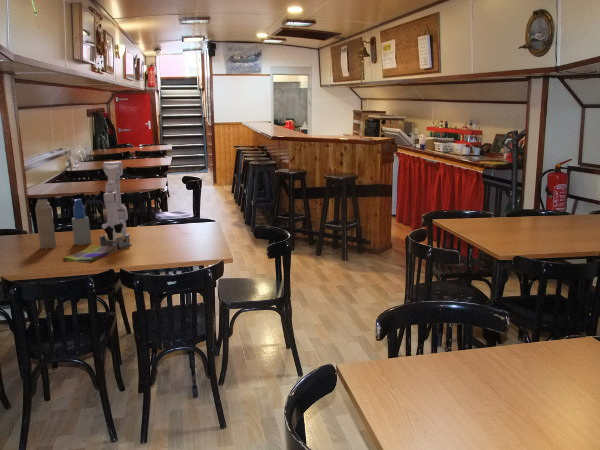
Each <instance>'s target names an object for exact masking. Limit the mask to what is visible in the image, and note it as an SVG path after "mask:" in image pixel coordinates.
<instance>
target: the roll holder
mask: <svg viewBox="0 0 600 450" xmlns="http://www.w3.org/2000/svg"><path fill="white" fill-rule="evenodd" d="M124 237H125V239H124V240H123V241H122V237H119V238H116V240H117V242H112V241H106V239H105V234H102V235H100V236H99V246H115V247H118V249H117V250H118V251H121V250H124V249H126V248H129V247H131V246H133V244H132V243H131V241H130V235H125V236H124Z"/></svg>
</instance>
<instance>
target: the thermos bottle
mask: <svg viewBox="0 0 600 450" xmlns="http://www.w3.org/2000/svg"><path fill="white" fill-rule="evenodd" d="M36 200H37V201H36V203H35V207H34V209H35V217H36V226H37V232H38V239H39V241H38V242H39V249H41V248H45V249H44V250H47V249H46V248H51V249H54V248H53V247H55V248H56V247H57V242H56V234H55V227H54V216H53V210H52V206H50V205H51V204H50V202H49V201H48V196H38V197H36Z"/></svg>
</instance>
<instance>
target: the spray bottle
mask: <svg viewBox="0 0 600 450" xmlns="http://www.w3.org/2000/svg"><path fill="white" fill-rule="evenodd" d="M73 201H74V204H73V207H72V210H73V211H72V212H73V217H72V218H71V225H72V226H71V228H72V235H73V242H74V245H75V244H76V245H75V246H85V245H89V244H91V243H92V239H91V238H92V237H91V236H92V235H91V227H90V226H91V225H90V220H89V219H90V218H89V216H87V215H86V207H85V205H84V204H83V202H82V201H83V200H82V198H76V199H74V200H73Z"/></svg>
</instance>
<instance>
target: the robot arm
mask: <svg viewBox="0 0 600 450" xmlns="http://www.w3.org/2000/svg"><path fill="white" fill-rule="evenodd" d="M102 167H103V172H104V174H105V176H107V182H106V183H105V191H104V193H103V201H104V202H103V203H104V207H105V212H106V220H107V221H106V223H103V224H101V229H103V230H104V232H105V234H107V236H108V238H109V240H113V232H114V233H122V234H123V235H124V236H125V235H129V236H130V235H131V234H130V233H127V222H126V221H127V220H128V219H129V218H128V217H129V216H128V210H127V208H128V207H126V206H125V205H123V204H122V195H121V186H120V185H121V184H120V178H121V176H123V174H124V169H123V168H124V166H123V162H122V161H121V160H119V161H104V162H103V164H102Z"/></svg>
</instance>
